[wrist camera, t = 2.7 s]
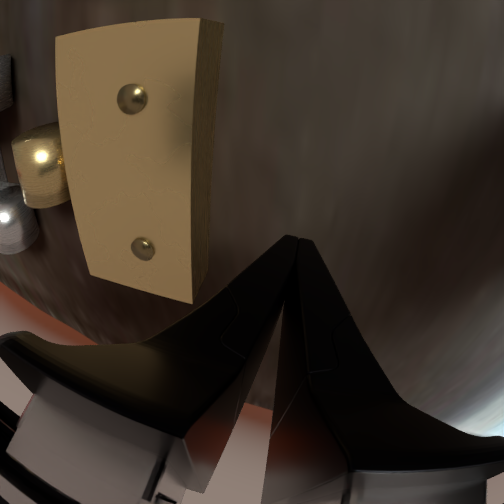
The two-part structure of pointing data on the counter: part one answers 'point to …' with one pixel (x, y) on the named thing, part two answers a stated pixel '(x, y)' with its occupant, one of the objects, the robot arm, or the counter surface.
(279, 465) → the robot arm
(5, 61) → the steel leaf
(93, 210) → the brass leaf
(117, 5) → the counter surface
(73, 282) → the counter surface
